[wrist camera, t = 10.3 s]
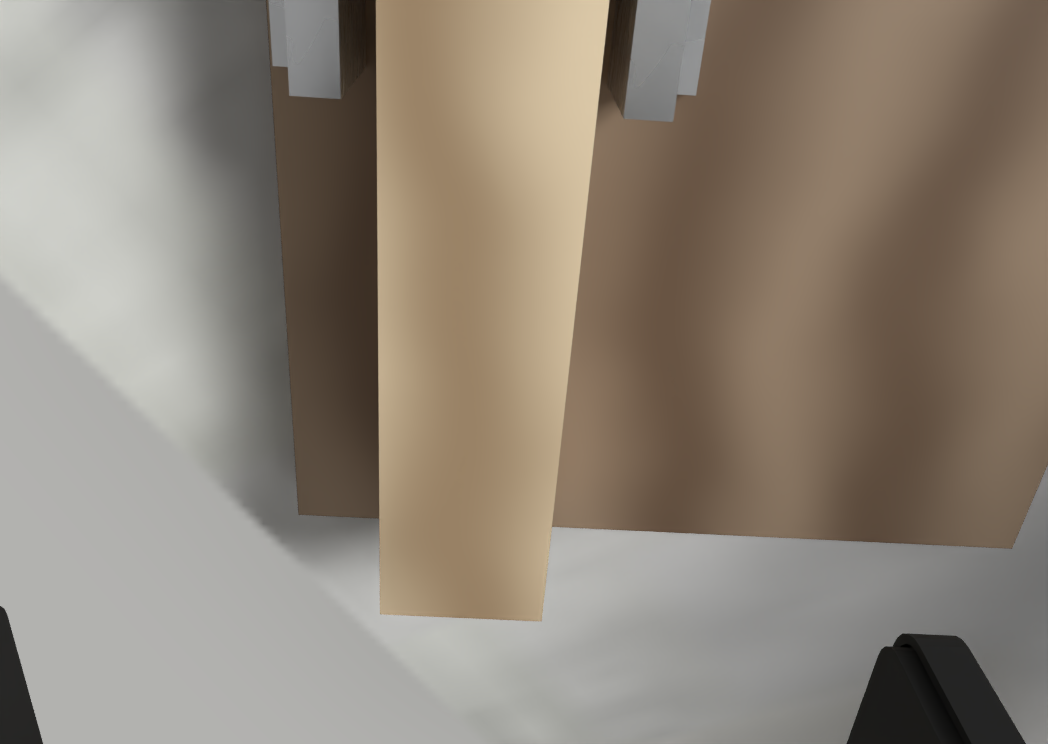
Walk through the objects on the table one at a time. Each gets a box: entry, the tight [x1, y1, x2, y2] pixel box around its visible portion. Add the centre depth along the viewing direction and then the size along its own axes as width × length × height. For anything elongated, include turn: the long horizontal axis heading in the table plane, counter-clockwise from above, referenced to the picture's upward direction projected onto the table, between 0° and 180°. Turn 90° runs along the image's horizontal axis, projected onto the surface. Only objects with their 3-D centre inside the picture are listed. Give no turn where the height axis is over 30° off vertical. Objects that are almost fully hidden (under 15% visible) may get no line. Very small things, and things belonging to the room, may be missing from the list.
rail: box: [376, 0, 609, 621], centre depth 20 cm, size 4×18×5 cm, turn 176°
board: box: [266, 0, 1048, 549], centre depth 22 cm, size 22×23×2 cm
